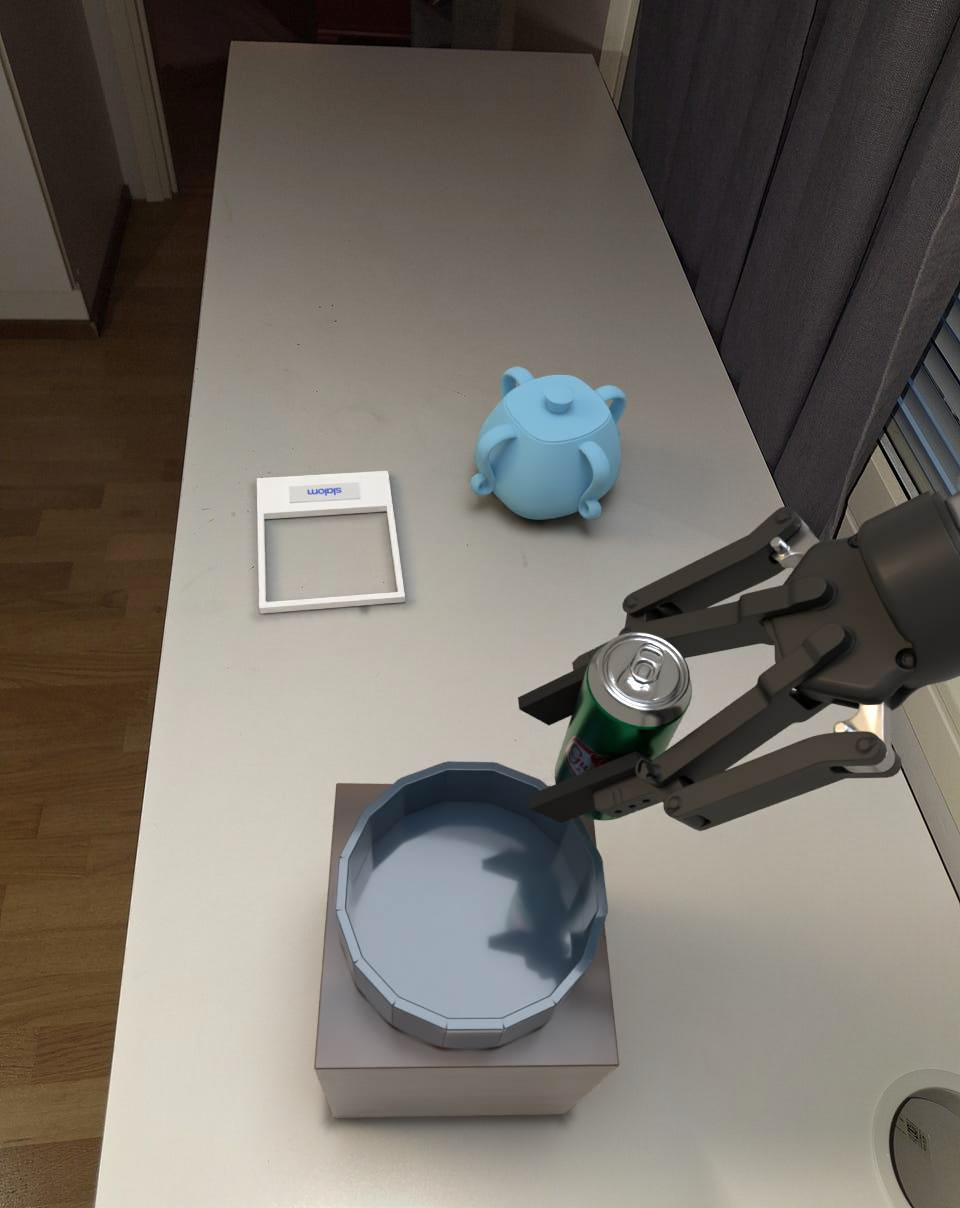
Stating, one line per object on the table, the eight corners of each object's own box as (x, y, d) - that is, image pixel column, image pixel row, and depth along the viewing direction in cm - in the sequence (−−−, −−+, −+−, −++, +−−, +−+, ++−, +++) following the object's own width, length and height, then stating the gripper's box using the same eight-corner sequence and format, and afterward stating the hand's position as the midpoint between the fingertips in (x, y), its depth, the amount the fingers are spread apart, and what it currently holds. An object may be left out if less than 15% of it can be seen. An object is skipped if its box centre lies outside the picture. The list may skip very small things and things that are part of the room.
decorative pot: (589, 554, 99) (614, 466, 88) (453, 509, 101) (461, 418, 90) (626, 459, 109) (653, 368, 98) (500, 419, 111) (513, 327, 100)
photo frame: (387, 469, 103) (404, 595, 92) (387, 476, 103) (404, 601, 93) (256, 477, 100) (258, 607, 90) (257, 484, 101) (260, 613, 91)
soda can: (538, 800, 50) (573, 688, 41) (572, 729, 53) (612, 609, 44) (622, 840, 49) (678, 735, 40) (653, 766, 52) (711, 651, 43)
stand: (564, 1114, 67) (619, 1065, 51) (333, 1117, 65) (313, 1069, 49) (549, 886, 77) (590, 785, 61) (348, 885, 75) (336, 782, 59)
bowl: (602, 1048, 51) (620, 1028, 47) (331, 1051, 50) (326, 1031, 46) (578, 798, 60) (592, 763, 56) (348, 795, 59) (345, 759, 55)
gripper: (1114, 794, 34) (604, 944, 45) (936, 455, 45) (560, 645, 56) (1068, 729, 29) (510, 915, 41) (881, 366, 40) (482, 594, 51)
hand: (539, 758), depth 48 cm, fingers closed on soda can, 5 cm apart
